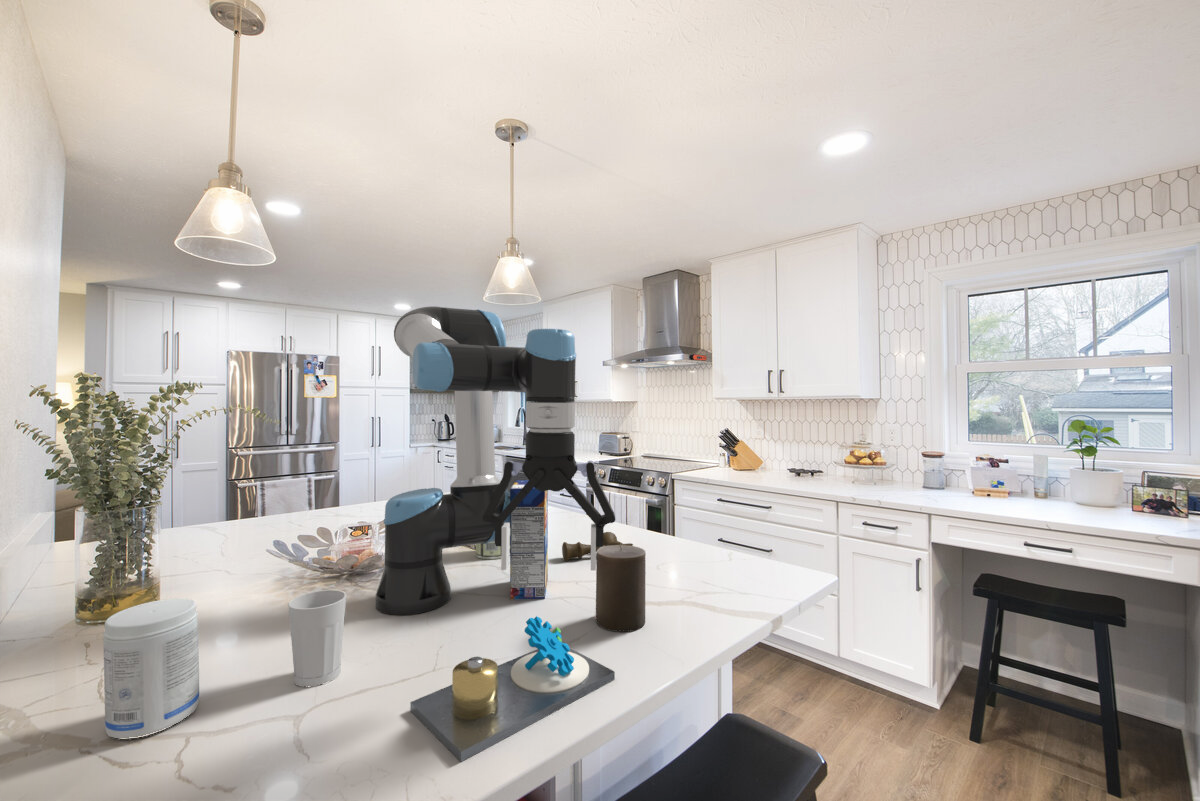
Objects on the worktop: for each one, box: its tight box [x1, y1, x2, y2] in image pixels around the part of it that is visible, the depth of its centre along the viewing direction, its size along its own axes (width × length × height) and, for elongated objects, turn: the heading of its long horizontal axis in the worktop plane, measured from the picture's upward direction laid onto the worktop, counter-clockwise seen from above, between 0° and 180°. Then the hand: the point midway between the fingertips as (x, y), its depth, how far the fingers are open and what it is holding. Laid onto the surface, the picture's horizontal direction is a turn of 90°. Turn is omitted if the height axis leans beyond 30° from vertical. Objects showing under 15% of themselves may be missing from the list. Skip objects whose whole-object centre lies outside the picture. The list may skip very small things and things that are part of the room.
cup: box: [287, 589, 348, 688], centre depth 80 cm, size 8×8×12 cm
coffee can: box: [475, 541, 502, 560], centre depth 144 cm, size 10×10×14 cm
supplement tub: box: [102, 597, 200, 739], centre depth 69 cm, size 10×10×15 cm
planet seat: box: [511, 652, 589, 693], centre depth 79 cm, size 12×12×1 cm
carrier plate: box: [409, 647, 616, 763], centre depth 74 cm, size 26×14×7 cm, turn 134°
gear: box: [524, 615, 574, 676], centre depth 79 cm, size 11×6×10 cm
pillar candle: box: [595, 544, 646, 632], centre depth 99 cm, size 10×10×15 cm
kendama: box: [561, 531, 634, 562], centre depth 140 cm, size 6×10×20 cm
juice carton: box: [509, 479, 549, 600], centre depth 116 cm, size 12×8×24 cm, turn 3°
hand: (549, 567), depth 79 cm, fingers open, 13 cm apart
